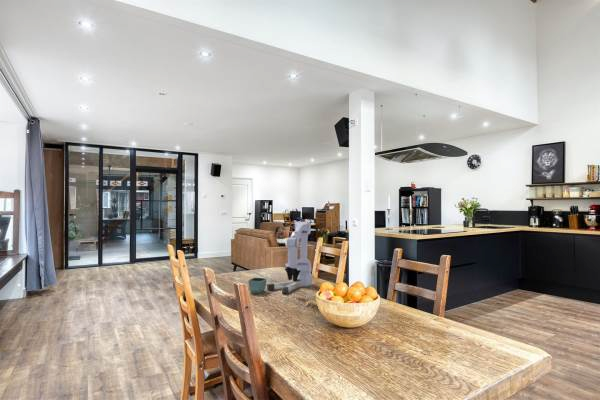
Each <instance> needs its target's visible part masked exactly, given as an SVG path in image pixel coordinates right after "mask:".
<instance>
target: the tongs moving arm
mask: <svg viewBox="0 0 600 400" xmlns="http://www.w3.org/2000/svg"><path fill="white" fill-rule="evenodd" d="M298 288H299V287H298V282H293V283H291V284H289V285H287V286H285V287H283V288H282V289H281V294H282V295H286V294H289V293H291V292H292V291H294V290H296V289H298Z"/></svg>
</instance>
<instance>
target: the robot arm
mask: <svg viewBox="0 0 600 400" xmlns="http://www.w3.org/2000/svg"><path fill="white" fill-rule="evenodd" d="M311 225H312V224H311V222H310V221H295V223H294V231H292V233H291V235H290V237H288V238H287V239H286V247H287V248H286V249H287V250H286V251H287V263H284V270H285V272H286V275H287V280H288V281H293V283H294V282H296V281H297V279H300V281H303V287H308V286H313V284H314V281H313V280H314V279H313V274H312V273H311V272H312V262H311V260H309V259H308V238H309V235H310V234H311V227H312V226H311ZM299 244H300V247H299ZM298 248H300V252H299V255H300V256H299V259H298V250H299V249H298Z"/></svg>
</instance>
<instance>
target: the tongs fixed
mask: <svg viewBox="0 0 600 400" xmlns="http://www.w3.org/2000/svg"><path fill="white" fill-rule="evenodd" d="M296 282H298V288H301V287H302V288H303V287H304V286H303V281H300V279H297V281H296ZM291 283H294V282H293V280H288V281H282V282H274V283H268V284H267V283H266V291H268V292H269V291H275V290H282V288H283V287H285V286H287V285H289V284H291Z"/></svg>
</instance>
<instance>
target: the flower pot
mask: <svg viewBox="0 0 600 400" xmlns="http://www.w3.org/2000/svg"><path fill="white" fill-rule="evenodd" d="M248 287H249V291H250V293H251V294H262V293H263V292H264V291H265V289H266V288H267V278H265V277H253V278H251V279H249V280H248Z"/></svg>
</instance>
